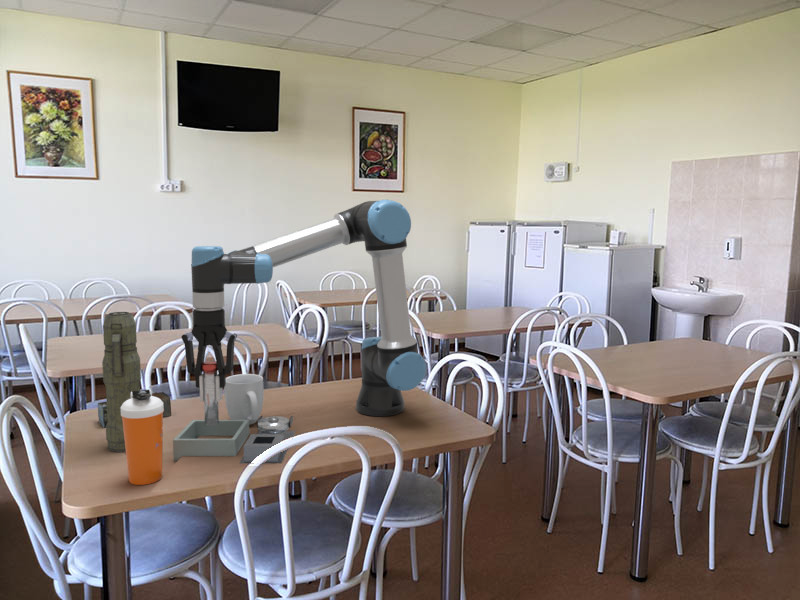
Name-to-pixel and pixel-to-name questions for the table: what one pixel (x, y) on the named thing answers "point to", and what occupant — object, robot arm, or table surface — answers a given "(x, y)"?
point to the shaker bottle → (143, 437)
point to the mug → (244, 397)
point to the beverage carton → (161, 395)
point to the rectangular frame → (192, 446)
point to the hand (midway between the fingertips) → (211, 399)
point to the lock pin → (210, 393)
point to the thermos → (119, 372)
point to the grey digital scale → (268, 438)
